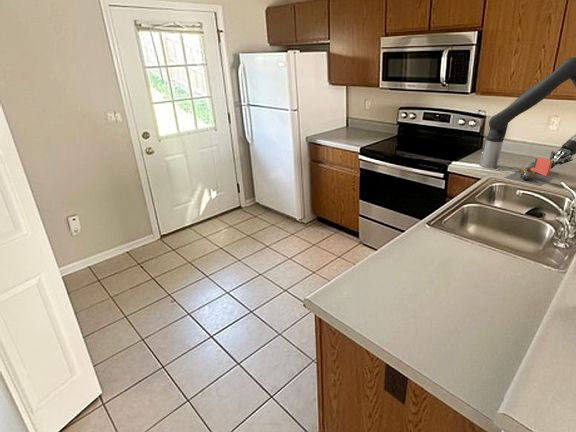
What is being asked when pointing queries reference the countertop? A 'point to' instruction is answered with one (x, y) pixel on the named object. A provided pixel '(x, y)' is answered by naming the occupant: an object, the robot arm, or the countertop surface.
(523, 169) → the valve body
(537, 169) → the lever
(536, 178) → the mat
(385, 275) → the countertop surface
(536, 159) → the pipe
